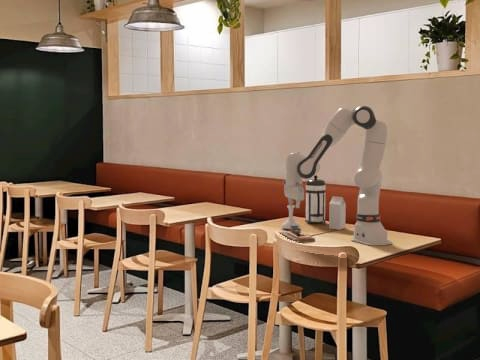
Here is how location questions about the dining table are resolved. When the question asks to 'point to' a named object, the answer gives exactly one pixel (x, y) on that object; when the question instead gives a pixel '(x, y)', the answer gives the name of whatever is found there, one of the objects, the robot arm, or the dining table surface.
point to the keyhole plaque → (304, 236)
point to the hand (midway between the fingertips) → (294, 206)
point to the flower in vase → (290, 219)
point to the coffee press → (315, 200)
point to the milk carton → (337, 213)
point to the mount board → (297, 235)
